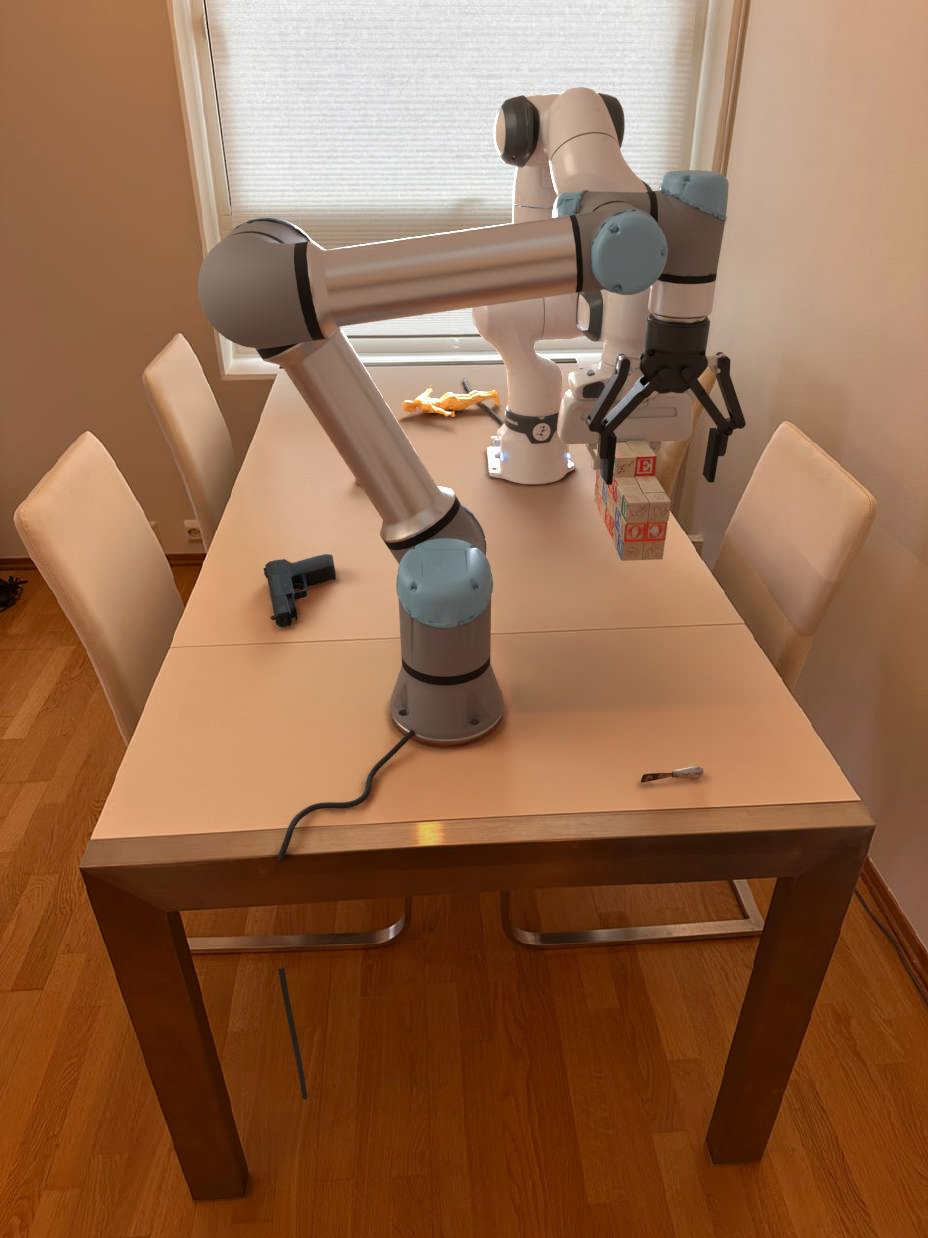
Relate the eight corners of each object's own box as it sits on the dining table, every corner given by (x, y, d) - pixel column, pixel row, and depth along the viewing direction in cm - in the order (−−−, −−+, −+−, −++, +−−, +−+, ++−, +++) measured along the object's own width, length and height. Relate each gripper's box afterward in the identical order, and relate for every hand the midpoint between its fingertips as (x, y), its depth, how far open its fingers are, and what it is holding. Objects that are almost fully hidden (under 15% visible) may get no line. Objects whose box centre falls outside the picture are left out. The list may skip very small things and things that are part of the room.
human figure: (395, 413, 223) (394, 398, 221) (438, 390, 237) (438, 375, 235) (462, 429, 215) (462, 413, 213) (502, 404, 229) (503, 388, 227)
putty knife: (703, 777, 109) (705, 767, 109) (642, 788, 108) (644, 777, 107) (700, 772, 110) (702, 762, 109) (639, 782, 109) (640, 771, 108)
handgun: (348, 619, 141) (272, 630, 139) (332, 566, 156) (262, 576, 153) (347, 602, 140) (269, 613, 137) (331, 550, 154) (260, 559, 151)
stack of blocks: (664, 560, 128) (674, 481, 121) (620, 562, 127) (628, 482, 121) (631, 498, 146) (638, 425, 139) (593, 499, 145) (598, 427, 139)
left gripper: (769, 306, 111) (740, 466, 122) (570, 308, 110) (560, 470, 121) (792, 321, 105) (759, 488, 116) (581, 324, 103) (569, 493, 114)
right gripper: (692, 371, 134) (681, 457, 142) (558, 374, 133) (553, 461, 140) (705, 384, 129) (692, 473, 136) (564, 388, 128) (559, 477, 135)
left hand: (657, 479), depth 118 cm, fingers open, 13 cm apart
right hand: (620, 467), depth 138 cm, fingers closed on stack of blocks, 6 cm apart
